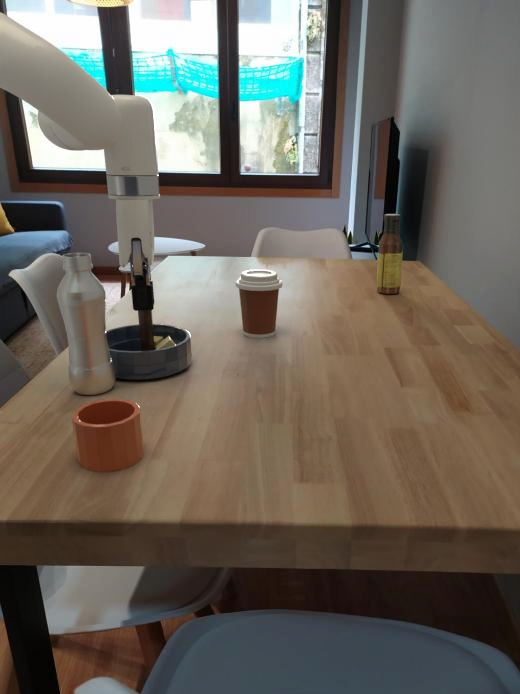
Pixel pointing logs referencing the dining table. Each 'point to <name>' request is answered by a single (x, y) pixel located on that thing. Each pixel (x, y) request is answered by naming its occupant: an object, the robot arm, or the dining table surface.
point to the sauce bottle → (390, 257)
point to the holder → (108, 435)
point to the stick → (146, 330)
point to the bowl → (148, 352)
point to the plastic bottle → (85, 326)
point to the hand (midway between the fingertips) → (144, 306)
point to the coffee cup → (259, 302)
